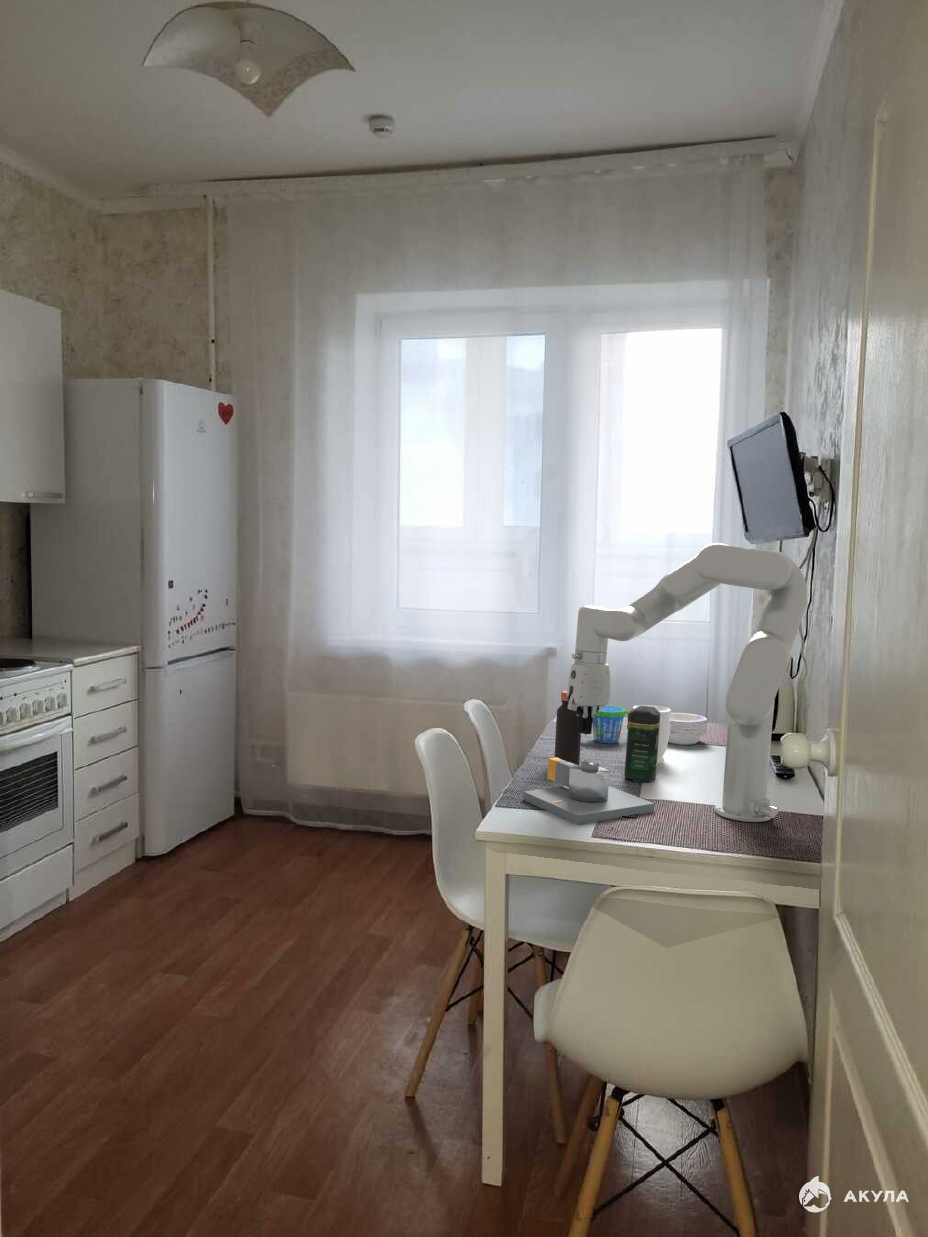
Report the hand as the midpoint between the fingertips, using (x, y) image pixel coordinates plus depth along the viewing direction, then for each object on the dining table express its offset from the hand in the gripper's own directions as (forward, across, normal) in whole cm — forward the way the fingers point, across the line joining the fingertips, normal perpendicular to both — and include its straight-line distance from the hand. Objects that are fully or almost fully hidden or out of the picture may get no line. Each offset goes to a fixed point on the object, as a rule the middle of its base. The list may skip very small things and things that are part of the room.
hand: (584, 732), depth 225 cm
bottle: (+15, +13, +21) cm, 29 cm away
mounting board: (+14, -6, -11) cm, 19 cm away
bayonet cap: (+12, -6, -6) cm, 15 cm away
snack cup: (+15, +43, +40) cm, 60 cm away
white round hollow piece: (+14, +65, +31) cm, 73 cm away
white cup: (+14, +38, +16) cm, 43 cm away
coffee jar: (+14, +23, +3) cm, 27 cm away
